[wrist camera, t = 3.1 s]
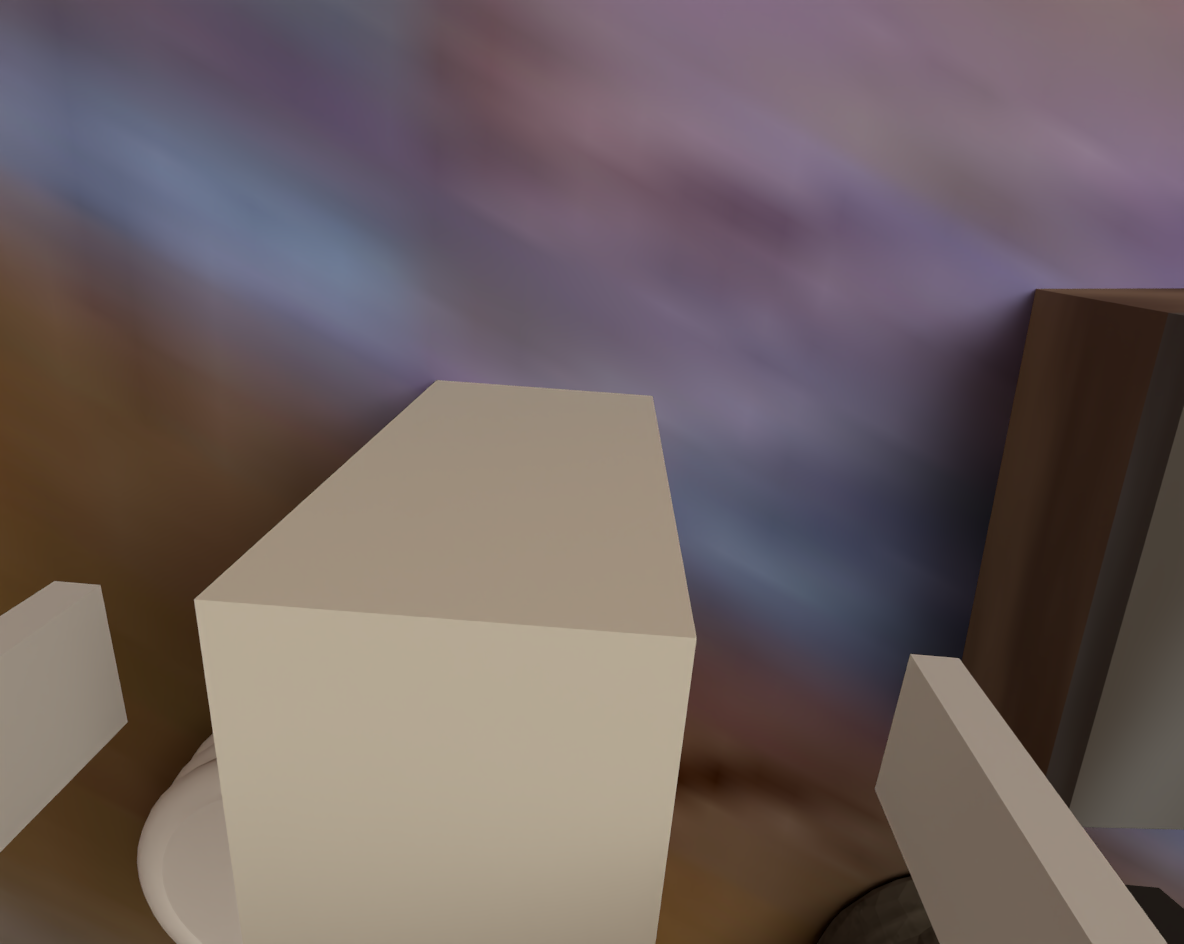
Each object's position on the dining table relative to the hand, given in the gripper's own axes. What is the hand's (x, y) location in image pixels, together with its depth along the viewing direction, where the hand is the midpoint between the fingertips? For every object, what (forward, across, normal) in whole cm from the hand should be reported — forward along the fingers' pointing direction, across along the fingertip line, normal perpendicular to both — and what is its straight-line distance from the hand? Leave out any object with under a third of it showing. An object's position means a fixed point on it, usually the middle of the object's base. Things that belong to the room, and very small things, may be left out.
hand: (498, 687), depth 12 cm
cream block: (+10, 0, 0) cm, 10 cm away
